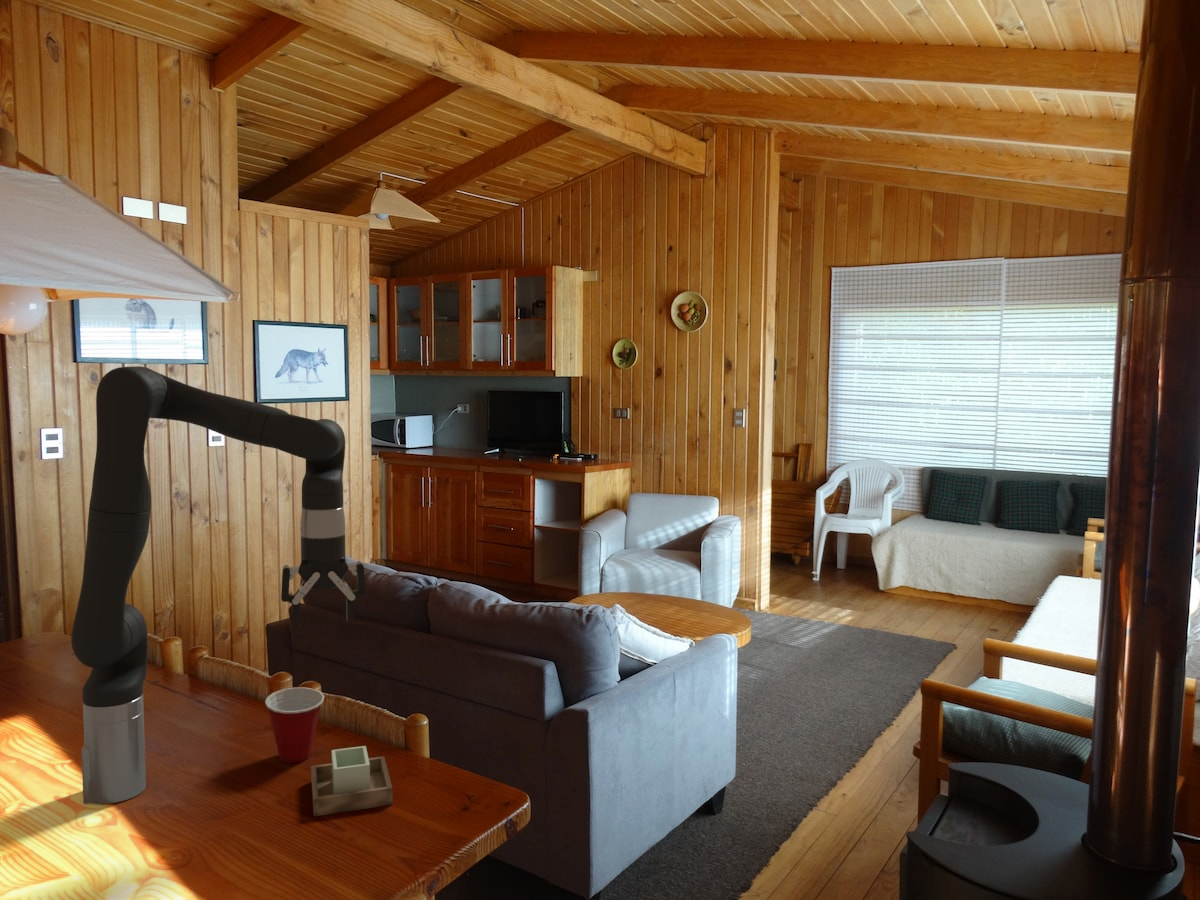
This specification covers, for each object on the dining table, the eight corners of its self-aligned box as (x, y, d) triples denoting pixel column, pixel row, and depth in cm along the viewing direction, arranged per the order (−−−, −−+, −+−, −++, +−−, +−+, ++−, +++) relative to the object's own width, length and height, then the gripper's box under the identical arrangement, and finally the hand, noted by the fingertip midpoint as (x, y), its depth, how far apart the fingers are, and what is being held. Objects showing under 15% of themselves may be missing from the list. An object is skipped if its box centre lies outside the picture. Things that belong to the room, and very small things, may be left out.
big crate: (313, 816, 146) (313, 799, 146) (311, 781, 158) (311, 765, 158) (392, 804, 151) (392, 787, 151) (384, 771, 163) (384, 756, 163)
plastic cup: (280, 775, 161) (279, 712, 160) (256, 756, 168) (255, 696, 167) (335, 757, 168) (334, 697, 167) (309, 740, 176) (308, 682, 175)
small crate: (334, 802, 150) (333, 769, 149) (331, 782, 157) (331, 750, 157) (369, 797, 152) (369, 764, 151) (366, 777, 159) (365, 745, 159)
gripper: (280, 538, 148) (281, 631, 149) (366, 534, 153) (367, 624, 154) (280, 530, 155) (281, 619, 156) (362, 526, 160) (363, 613, 161)
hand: (324, 621), depth 155 cm, fingers open, 8 cm apart
